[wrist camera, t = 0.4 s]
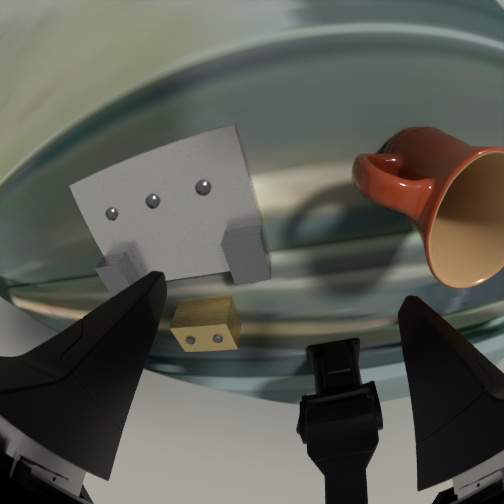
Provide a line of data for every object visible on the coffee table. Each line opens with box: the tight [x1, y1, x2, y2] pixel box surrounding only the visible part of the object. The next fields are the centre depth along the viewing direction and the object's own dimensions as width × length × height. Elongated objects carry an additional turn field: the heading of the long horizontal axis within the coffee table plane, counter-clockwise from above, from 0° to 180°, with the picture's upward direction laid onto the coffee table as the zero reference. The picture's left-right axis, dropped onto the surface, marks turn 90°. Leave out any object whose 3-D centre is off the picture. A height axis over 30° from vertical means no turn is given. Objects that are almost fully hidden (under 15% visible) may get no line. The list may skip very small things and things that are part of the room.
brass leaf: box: [170, 296, 242, 352], centre depth 28 cm, size 4×6×4 cm, turn 104°
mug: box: [352, 127, 504, 289], centre depth 15 cm, size 12×9×10 cm
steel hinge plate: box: [70, 123, 271, 296], centre depth 22 cm, size 12×16×3 cm
